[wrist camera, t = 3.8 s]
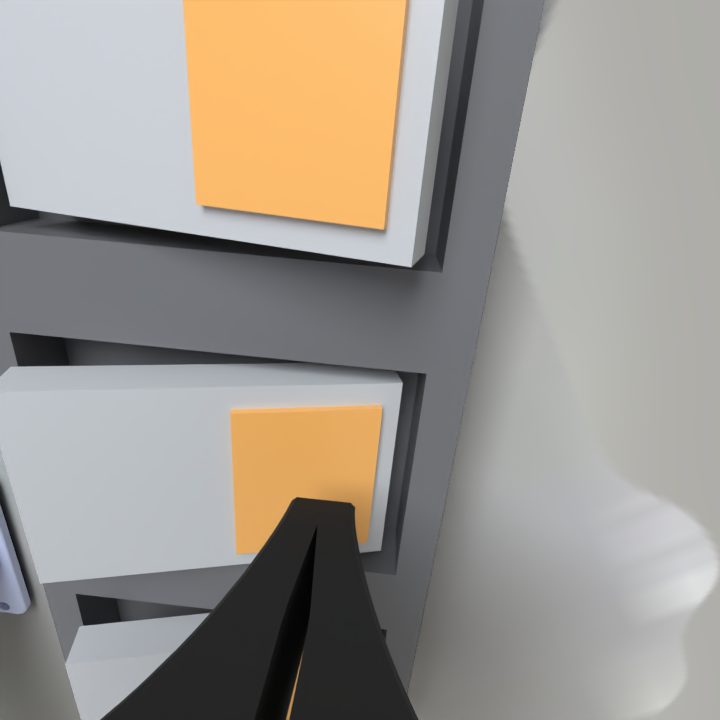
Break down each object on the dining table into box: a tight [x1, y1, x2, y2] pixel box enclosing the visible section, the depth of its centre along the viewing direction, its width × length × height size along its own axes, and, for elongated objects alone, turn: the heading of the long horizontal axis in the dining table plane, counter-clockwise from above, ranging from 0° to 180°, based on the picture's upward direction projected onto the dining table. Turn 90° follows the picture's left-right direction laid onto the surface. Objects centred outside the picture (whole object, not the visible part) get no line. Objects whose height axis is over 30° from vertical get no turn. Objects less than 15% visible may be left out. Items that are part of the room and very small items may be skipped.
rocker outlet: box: [0, 0, 459, 267], centre depth 9 cm, size 9×6×1 cm, turn 86°
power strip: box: [0, 0, 544, 693], centre depth 15 cm, size 12×28×4 cm, turn 176°
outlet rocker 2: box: [65, 613, 303, 720], centre depth 16 cm, size 9×6×1 cm, turn 85°
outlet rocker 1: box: [0, 363, 403, 584], centre depth 12 cm, size 9×6×1 cm, turn 85°
